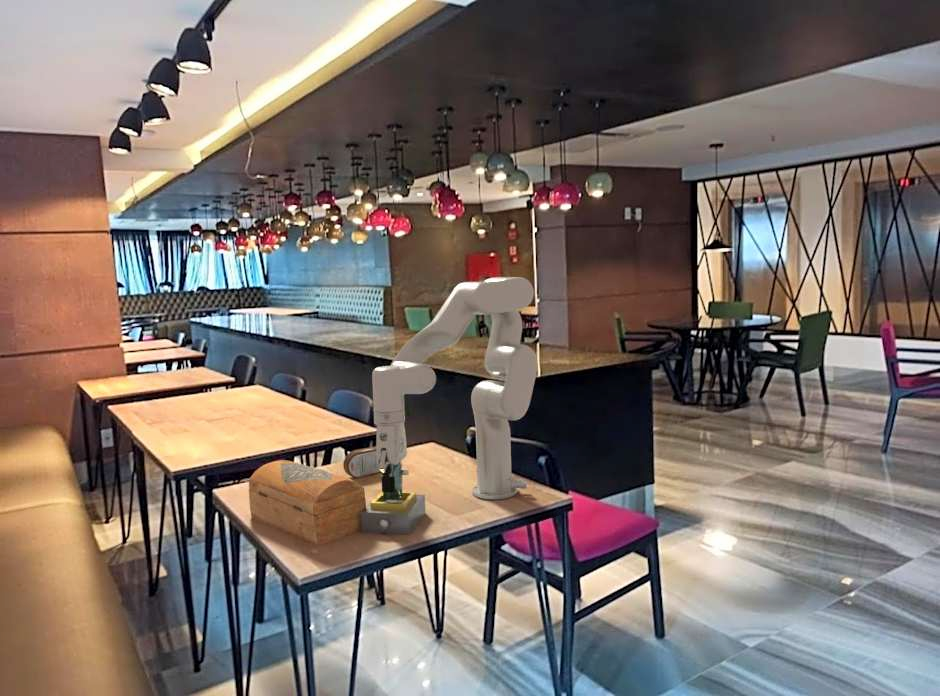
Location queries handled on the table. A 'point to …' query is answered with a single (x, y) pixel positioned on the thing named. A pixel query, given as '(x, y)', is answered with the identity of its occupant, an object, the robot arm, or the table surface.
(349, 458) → the tin
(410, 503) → the grey yellow box
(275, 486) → the wooden box
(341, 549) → the table surface
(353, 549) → the table surface
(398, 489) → the spout can
